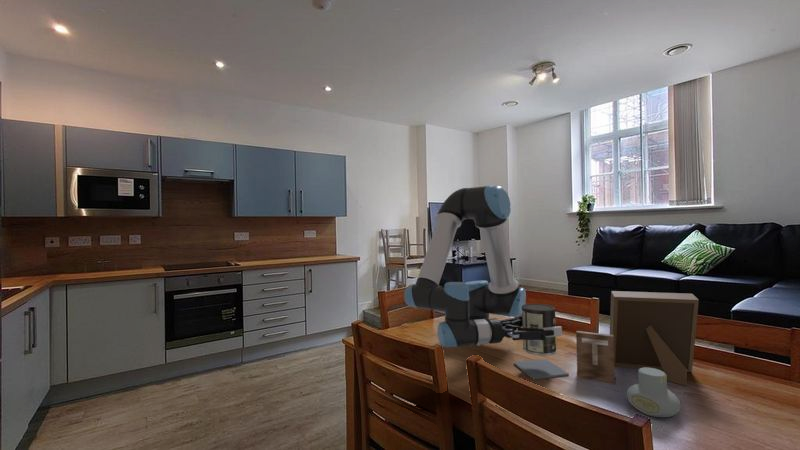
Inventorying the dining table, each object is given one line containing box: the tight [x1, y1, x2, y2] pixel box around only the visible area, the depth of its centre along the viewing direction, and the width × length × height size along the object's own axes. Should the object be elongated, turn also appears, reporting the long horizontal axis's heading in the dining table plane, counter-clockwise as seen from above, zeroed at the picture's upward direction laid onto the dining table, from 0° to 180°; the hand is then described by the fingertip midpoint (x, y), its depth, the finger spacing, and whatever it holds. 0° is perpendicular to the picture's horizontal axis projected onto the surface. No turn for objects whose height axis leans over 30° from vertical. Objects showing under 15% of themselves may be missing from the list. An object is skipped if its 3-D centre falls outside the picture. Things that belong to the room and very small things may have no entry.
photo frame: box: [609, 290, 700, 386], centre depth 111 cm, size 15×22×25 cm
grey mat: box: [513, 358, 570, 380], centre depth 116 cm, size 12×12×1 cm
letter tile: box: [575, 330, 616, 385], centre depth 109 cm, size 10×5×14 cm, turn 60°
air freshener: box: [626, 367, 681, 418], centre depth 89 cm, size 11×8×10 cm
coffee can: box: [521, 303, 558, 357], centre depth 115 cm, size 10×10×14 cm
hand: (550, 326), depth 116 cm, fingers closed on coffee can, 10 cm apart
